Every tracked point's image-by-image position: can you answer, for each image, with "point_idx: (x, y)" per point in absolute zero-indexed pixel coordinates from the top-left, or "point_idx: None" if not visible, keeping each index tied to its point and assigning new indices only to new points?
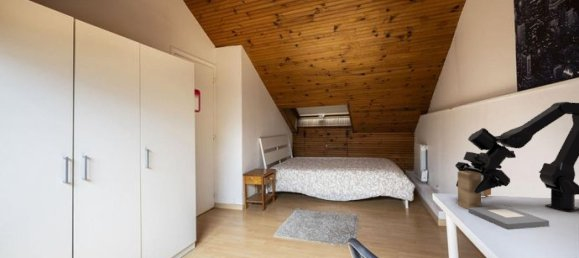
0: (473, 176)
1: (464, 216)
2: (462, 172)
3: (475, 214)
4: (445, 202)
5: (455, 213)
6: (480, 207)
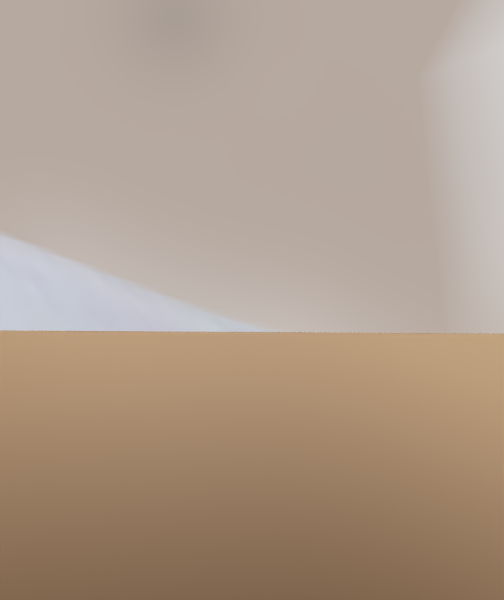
0: None
1: (22, 292)
2: (230, 349)
3: None
4: None
5: (98, 274)
6: None
